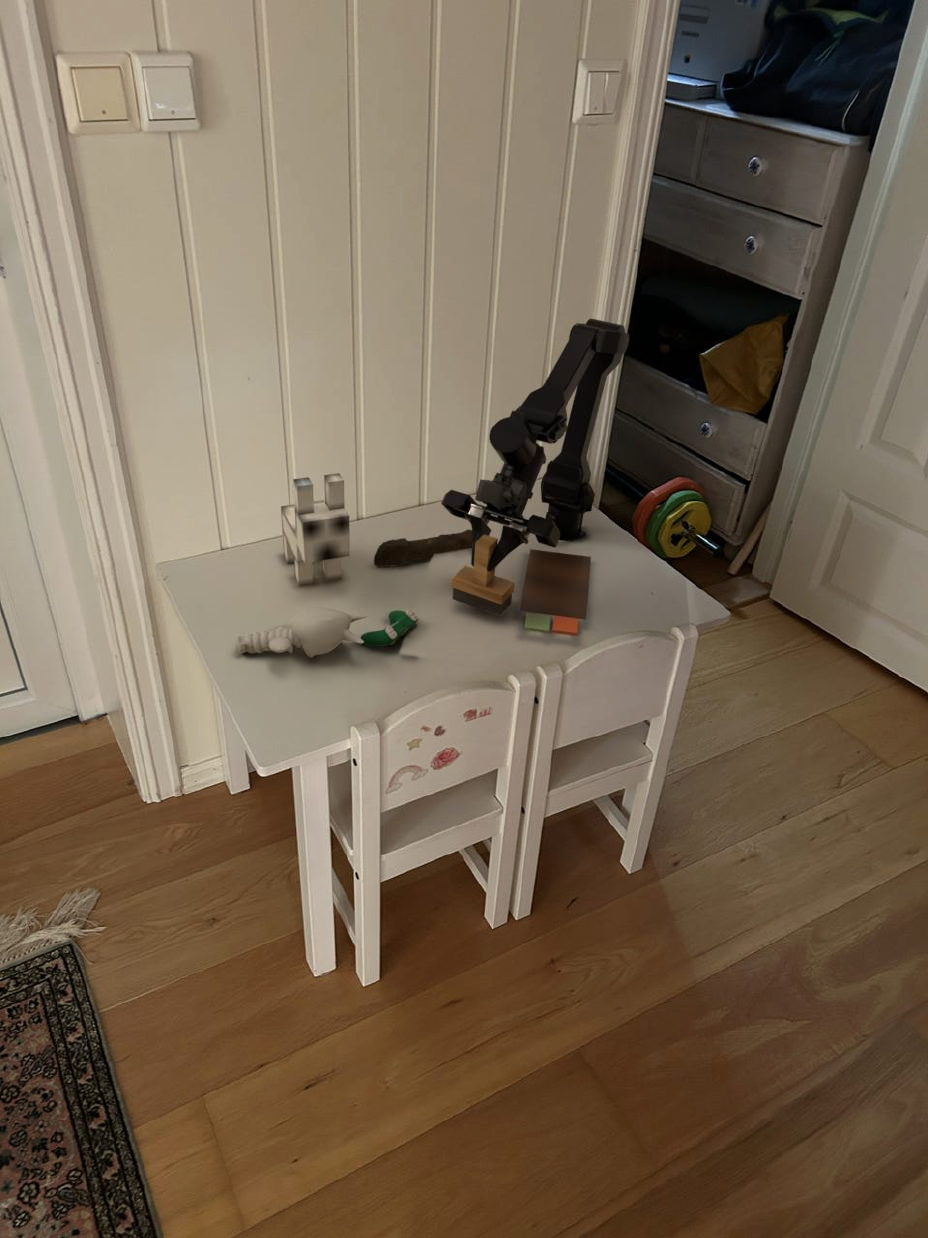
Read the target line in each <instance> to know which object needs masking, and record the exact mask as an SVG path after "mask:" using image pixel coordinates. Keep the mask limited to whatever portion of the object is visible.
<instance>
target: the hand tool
mask: <svg viewBox="0 0 928 1238" xmlns="http://www.w3.org/2000/svg"><path fill="white" fill-rule="evenodd" d="M468 549H472V529H466V530H464V531H462V532H457V533H450V534H449V533H447V534H439V535H437V536H434V537H428V538H422V539H421V538H420V539H415V540H414V539H413V540H408V539H406V537H403V538H397V539H391V540H390V539H389V540H386V541H383V542H382V543H381V544H380V545H379V546H378V547H377V550H376V552H375V554H374V556H373V563H374V564H373V565H374V566H377V567H394V566H407V564H408V563H410V562H411V561H416V560H421V559H430V558H432V557H434V555H438V554H443V553H450V552H456V551H461V550H468Z"/></svg>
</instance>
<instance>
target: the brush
mask: <svg viewBox="0 0 928 1238" xmlns="http://www.w3.org/2000/svg"><path fill="white" fill-rule="evenodd" d="M498 542H499V539H498V537H495V536H494V537H493V536H491V535H489V536H488V535H485V534H484V535H483V536H482V537H481V538H480V539H479V540H478V541H477V542H476V543H475V556H474V566H473V567H471V566H468V565H464V566H463V567H462V568H461V569H459V571H457V573H456V574H455V575H454V576H452V578H451V588H452V600H453V601H456V602H459V603H461V604H465V605H467V606H470V607H472V608H476V609H479V610H481V611H484V612H487V613H490V614H493V615H495V616H498V617H501V616H502V615H503V614H504V613H505V612H506V610H507V609H508V608H509V607H510V606H511V605H512V597H513V593H514V592H515V583H516V582H515V581H512V580H509V579H506V578H502V577H500V576H497V575H495V573H496V567H495V568H494V569H493V570H492V571H491V572H489V571H487V567H488V564H489V561H490V559H491V557H492V555H493V553H494V550H495V548H496V546H497V544H498Z"/></svg>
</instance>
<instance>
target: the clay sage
mask: <svg viewBox="0 0 928 1238" xmlns="http://www.w3.org/2000/svg"><path fill="white" fill-rule="evenodd" d="M551 620H552V615H545V614H538V613H530V612H526V614H525V620H524V625H523V630H524V631H530V632H537V633H544V634H545V633H546V634H550V627H551V622H552V621H551Z"/></svg>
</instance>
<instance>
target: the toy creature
mask: <svg viewBox="0 0 928 1238" xmlns="http://www.w3.org/2000/svg"><path fill="white" fill-rule="evenodd" d="M369 617H370V616H369V615H359V614H357V615H356V614H348V613H347V612H345V611H342V610H337V609H333V608H332V609H331V608H324V607H314V608H307V609H305V610H303V611H301V612H299V613H297V614H296V615H295V616H294V617H293V619H292V621H291V623H290V625H281V626H278V627H276V628H274V629H272V630H270V631H267V630H265V631H262V632H259V631H257V632H254V633H252V632H249V633H247V634H246V635H243V636H237V637H236V649H237V652H238V653H239V654H240V655H243V654H245V653H249V654H255V653H257V654H261V653H263V652H274V653H280V654H281V653H286V652H289V654H292V653H293V651H294V649H293V645H295V647H296V648H299V649H301V648H303V651H304V653H305V654H306V656H307V657H308V658H311V659H313V657H315V656H318V655H320V656H321V655H324V654H328V653H329V652H332V651H333V650H334V649H336V648H337V647H338V646H339V645H340V644H341V643H342V641H345V642H350V643H356V644H362V643H363V642H364V641H363V640H362V639H361V637H359V636H358V635H356V634H355V633H354V632H352V631H351V630H350V627H351V624H352V623H354V622H357V621H359V620H362V619H367V618H369Z"/></svg>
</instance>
